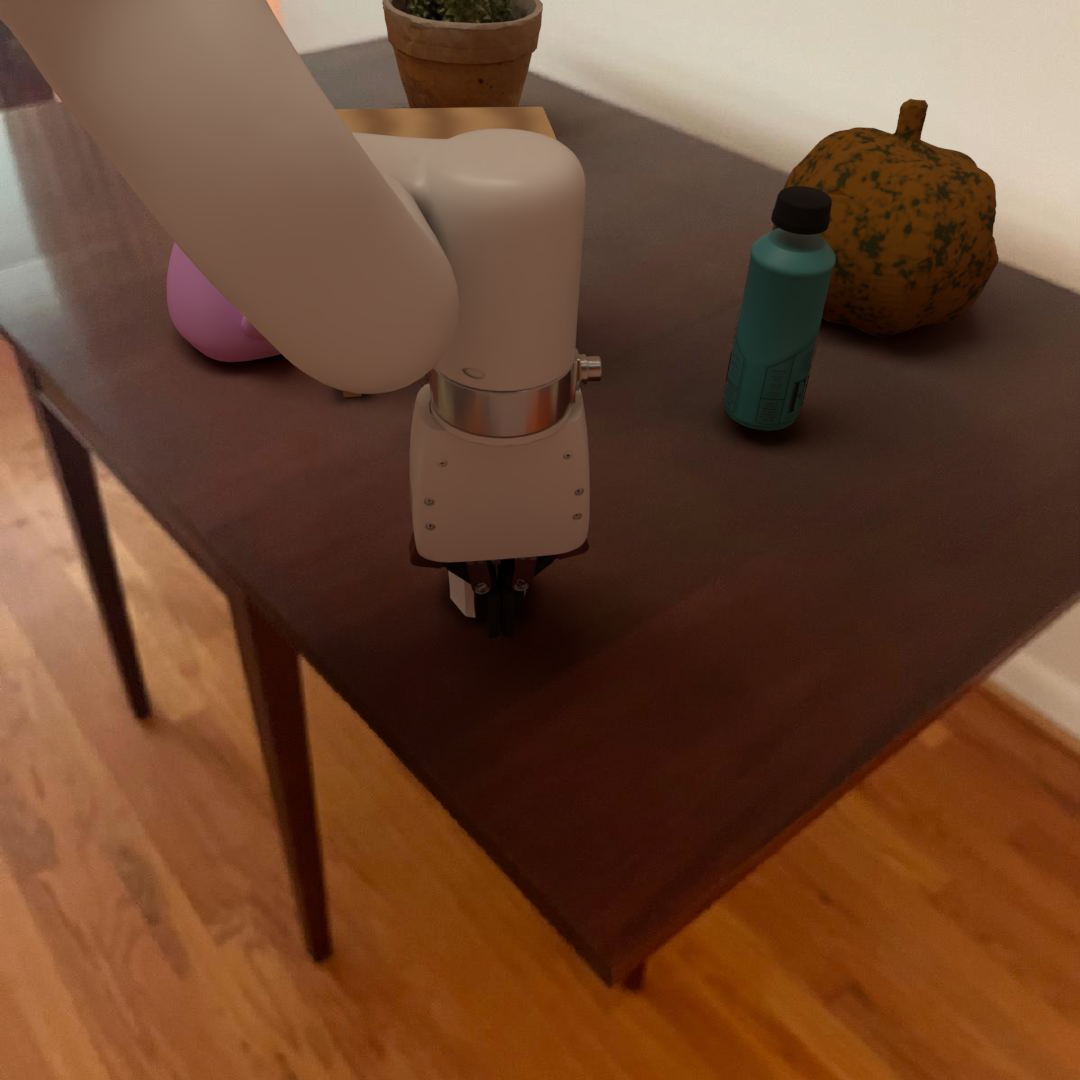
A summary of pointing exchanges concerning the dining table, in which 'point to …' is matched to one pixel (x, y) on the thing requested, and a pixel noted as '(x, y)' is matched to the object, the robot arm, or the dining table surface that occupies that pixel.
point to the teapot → (210, 316)
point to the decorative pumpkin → (901, 225)
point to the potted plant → (463, 50)
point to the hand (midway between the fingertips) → (498, 621)
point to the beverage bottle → (781, 313)
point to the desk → (443, 125)
